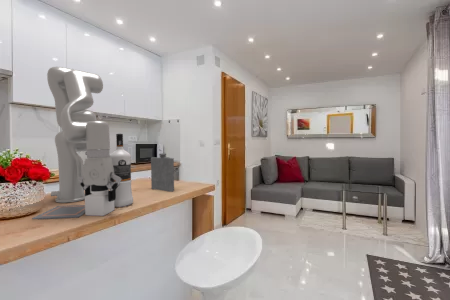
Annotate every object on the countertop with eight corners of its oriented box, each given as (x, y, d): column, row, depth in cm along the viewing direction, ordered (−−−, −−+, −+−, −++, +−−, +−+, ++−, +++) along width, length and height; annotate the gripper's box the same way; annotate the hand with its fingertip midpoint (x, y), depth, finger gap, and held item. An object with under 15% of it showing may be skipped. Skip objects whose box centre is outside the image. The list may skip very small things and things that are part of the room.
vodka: (132, 200, 103) (130, 134, 102) (134, 205, 95) (132, 133, 94) (109, 203, 99) (107, 133, 98) (109, 208, 91) (106, 133, 90)
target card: (32, 219, 79) (31, 218, 79) (57, 207, 94) (57, 205, 94) (78, 217, 81) (78, 215, 81) (96, 205, 96) (96, 204, 96)
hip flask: (150, 188, 129) (149, 153, 128) (155, 187, 132) (155, 152, 131) (171, 191, 120) (170, 153, 119) (176, 190, 124) (175, 153, 123)
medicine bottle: (114, 210, 89) (114, 179, 89) (103, 216, 82) (102, 183, 82) (97, 209, 90) (96, 179, 90) (84, 215, 83) (83, 182, 82)
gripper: (70, 155, 83) (72, 202, 84) (112, 155, 80) (114, 203, 80) (86, 154, 90) (87, 197, 91) (125, 153, 87) (127, 198, 88)
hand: (100, 200), depth 86 cm, fingers open, 9 cm apart
